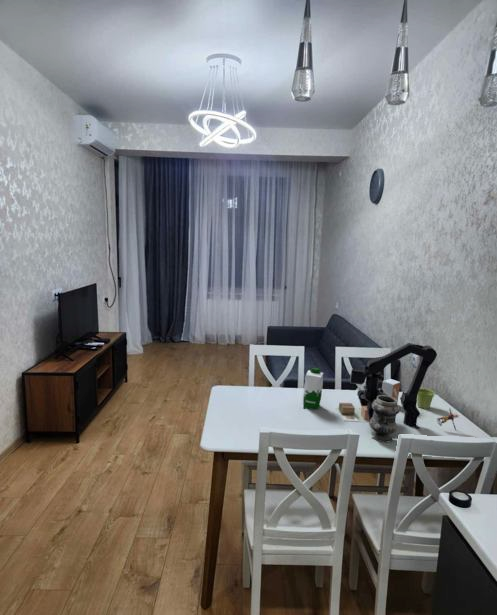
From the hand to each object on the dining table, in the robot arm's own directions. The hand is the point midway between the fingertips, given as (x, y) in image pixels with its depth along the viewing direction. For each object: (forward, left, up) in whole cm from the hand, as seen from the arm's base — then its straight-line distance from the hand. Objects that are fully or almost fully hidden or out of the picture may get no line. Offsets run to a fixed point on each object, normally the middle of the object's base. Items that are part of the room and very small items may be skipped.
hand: (367, 416), depth 203 cm
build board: (+3, +5, -2) cm, 6 cm away
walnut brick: (+5, +9, -1) cm, 10 cm away
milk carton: (+12, +25, -2) cm, 28 cm away
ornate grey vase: (-18, 0, -2) cm, 18 cm away
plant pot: (+19, -38, -2) cm, 43 cm away
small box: (+20, -19, -2) cm, 28 cm away
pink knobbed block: (0, 0, -1) cm, 1 cm away
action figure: (-8, -35, -2) cm, 36 cm away
